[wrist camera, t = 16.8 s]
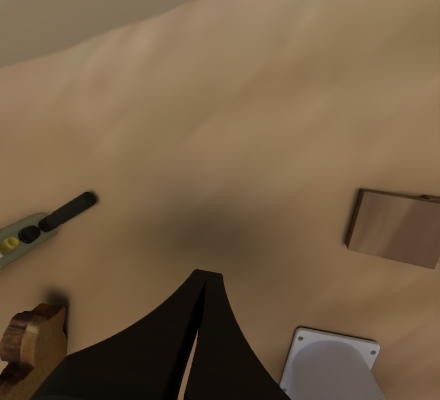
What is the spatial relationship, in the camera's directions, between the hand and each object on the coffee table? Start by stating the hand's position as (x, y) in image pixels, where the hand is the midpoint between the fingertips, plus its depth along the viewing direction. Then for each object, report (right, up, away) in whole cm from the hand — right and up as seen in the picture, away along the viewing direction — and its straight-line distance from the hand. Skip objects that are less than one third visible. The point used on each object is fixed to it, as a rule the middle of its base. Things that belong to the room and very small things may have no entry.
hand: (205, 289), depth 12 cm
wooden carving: (-18, -12, +16) cm, 27 cm away
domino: (+12, +3, +8) cm, 15 cm away
